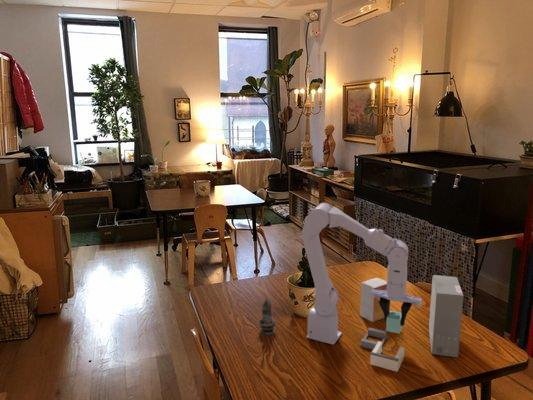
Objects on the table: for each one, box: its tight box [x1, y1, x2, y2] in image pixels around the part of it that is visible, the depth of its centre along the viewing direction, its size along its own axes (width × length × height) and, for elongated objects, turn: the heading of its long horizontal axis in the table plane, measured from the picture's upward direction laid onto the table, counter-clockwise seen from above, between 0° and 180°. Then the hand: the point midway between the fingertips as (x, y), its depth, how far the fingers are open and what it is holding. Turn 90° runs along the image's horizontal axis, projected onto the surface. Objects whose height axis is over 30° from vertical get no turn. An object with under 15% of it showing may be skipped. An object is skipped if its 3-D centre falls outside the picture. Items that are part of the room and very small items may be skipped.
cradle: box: [359, 327, 388, 351], centre depth 136 cm, size 9×6×2 cm
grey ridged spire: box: [257, 298, 277, 336], centre depth 143 cm, size 6×6×12 cm
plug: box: [385, 310, 404, 334], centre depth 131 cm, size 5×4×5 cm
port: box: [369, 341, 405, 372], centre depth 126 cm, size 8×8×4 cm
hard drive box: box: [428, 274, 465, 358], centre depth 133 cm, size 16×8×20 cm, turn 163°
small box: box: [359, 277, 387, 323], centre depth 152 cm, size 8×6×13 cm
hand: (394, 322), depth 131 cm, fingers closed on plug, 4 cm apart
